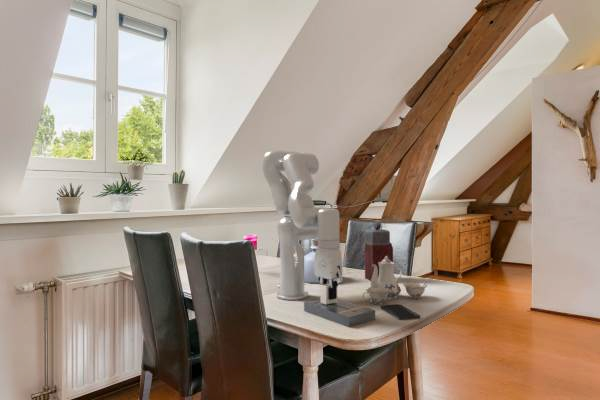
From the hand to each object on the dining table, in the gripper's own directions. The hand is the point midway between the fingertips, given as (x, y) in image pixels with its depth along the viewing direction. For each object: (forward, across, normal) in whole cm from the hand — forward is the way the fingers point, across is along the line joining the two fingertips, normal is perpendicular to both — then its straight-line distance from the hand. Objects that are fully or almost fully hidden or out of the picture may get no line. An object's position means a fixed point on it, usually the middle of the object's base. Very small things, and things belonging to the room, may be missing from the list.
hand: (328, 297), depth 142 cm
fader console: (+5, +5, 0) cm, 7 cm away
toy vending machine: (+5, -25, +54) cm, 60 cm away
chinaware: (+5, +1, +31) cm, 31 cm away
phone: (+6, +16, +18) cm, 25 cm away
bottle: (+5, -43, +32) cm, 54 cm away
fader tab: (+2, 0, 0) cm, 2 cm away
